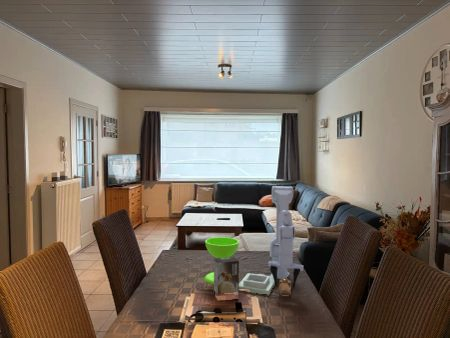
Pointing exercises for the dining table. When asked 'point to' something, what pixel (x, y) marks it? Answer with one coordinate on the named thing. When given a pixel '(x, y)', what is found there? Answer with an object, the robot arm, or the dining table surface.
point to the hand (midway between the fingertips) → (284, 285)
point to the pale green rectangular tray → (257, 283)
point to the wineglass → (220, 250)
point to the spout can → (284, 287)
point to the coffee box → (226, 275)
